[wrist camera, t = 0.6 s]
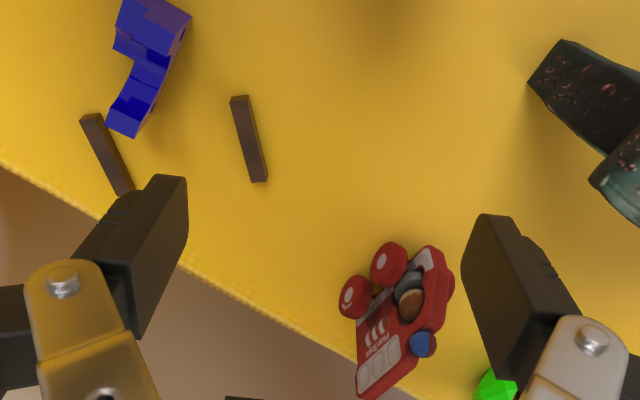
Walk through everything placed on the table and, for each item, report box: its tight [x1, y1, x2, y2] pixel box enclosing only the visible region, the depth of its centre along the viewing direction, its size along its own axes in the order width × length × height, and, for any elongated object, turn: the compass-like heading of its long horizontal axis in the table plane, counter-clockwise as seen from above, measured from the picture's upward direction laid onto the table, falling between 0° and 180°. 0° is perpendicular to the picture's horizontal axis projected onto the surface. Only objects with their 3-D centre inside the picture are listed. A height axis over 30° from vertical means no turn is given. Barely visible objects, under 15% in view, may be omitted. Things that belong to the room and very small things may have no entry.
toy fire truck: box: [339, 242, 455, 400], centre depth 39 cm, size 7×12×10 cm, turn 148°
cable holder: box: [104, 0, 192, 139], centre depth 29 cm, size 8×4×4 cm, turn 149°
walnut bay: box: [79, 95, 268, 197], centre depth 34 cm, size 7×13×1 cm, turn 98°
